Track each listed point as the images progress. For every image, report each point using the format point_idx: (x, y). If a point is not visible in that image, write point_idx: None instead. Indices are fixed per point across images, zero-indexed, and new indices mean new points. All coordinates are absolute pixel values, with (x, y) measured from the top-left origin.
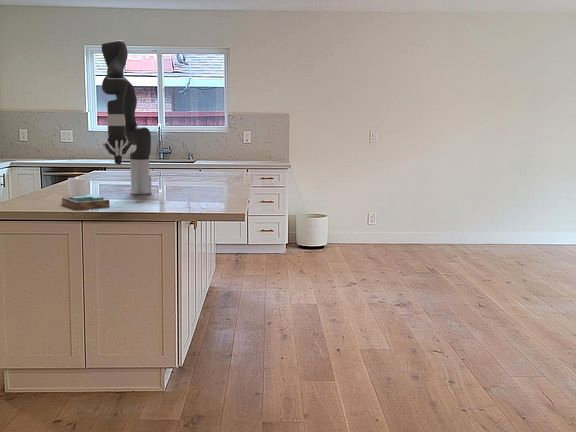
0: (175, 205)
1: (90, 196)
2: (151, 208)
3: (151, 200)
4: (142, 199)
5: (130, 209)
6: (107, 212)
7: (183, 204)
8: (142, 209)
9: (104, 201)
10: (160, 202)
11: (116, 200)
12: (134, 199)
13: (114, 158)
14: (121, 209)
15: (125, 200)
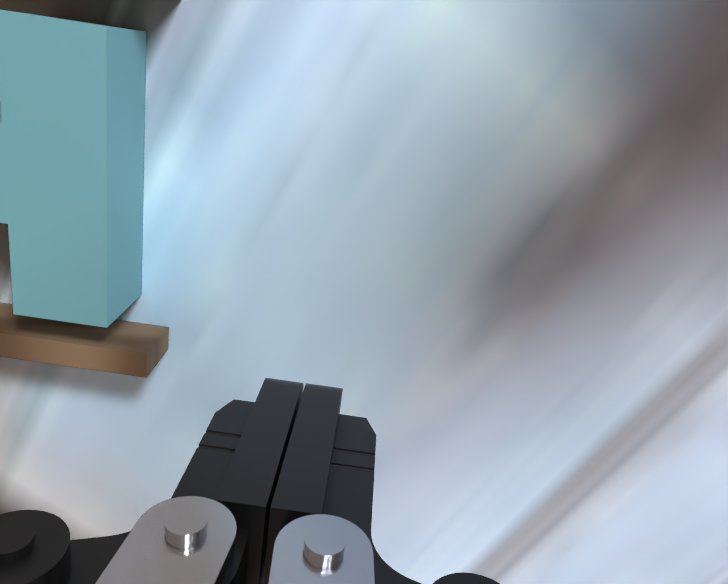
0: (608, 579)
1: (15, 191)
2: None
3: (699, 246)
4: (695, 123)
5: None
6: None
7: (689, 578)
8: None
9: (103, 366)
10: (653, 398)
11: (446, 4)
12: (638, 65)
13: (187, 473)
14: None
15: (517, 71)
